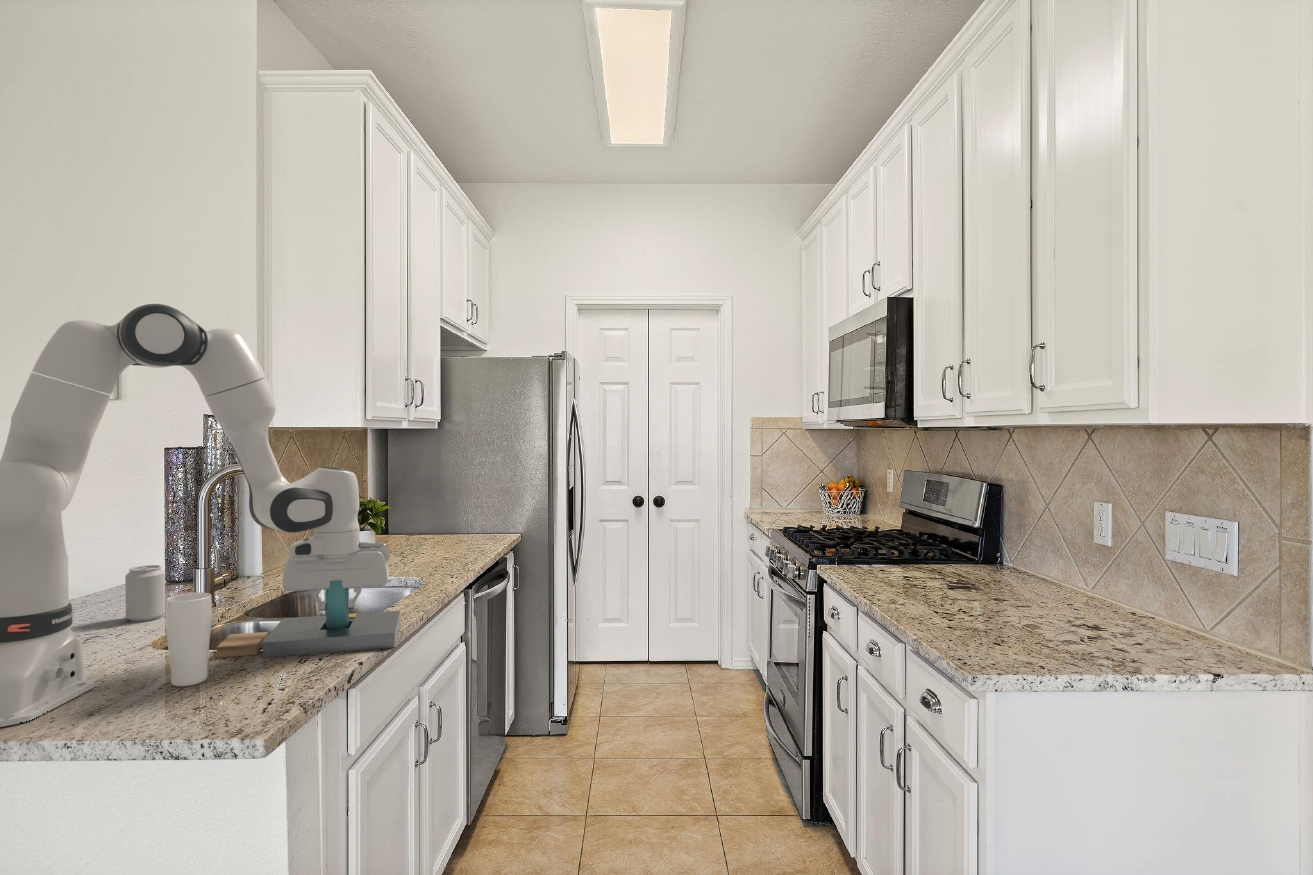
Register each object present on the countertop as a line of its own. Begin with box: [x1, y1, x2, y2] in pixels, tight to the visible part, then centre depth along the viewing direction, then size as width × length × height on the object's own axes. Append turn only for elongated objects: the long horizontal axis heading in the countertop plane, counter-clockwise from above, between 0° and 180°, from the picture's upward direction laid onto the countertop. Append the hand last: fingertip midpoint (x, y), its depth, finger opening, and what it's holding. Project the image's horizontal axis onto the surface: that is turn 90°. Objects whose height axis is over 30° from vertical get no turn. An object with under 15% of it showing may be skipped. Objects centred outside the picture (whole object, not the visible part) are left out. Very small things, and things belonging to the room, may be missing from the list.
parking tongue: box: [216, 631, 269, 659], centre depth 143 cm, size 9×7×2 cm
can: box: [124, 564, 166, 623], centre depth 165 cm, size 8×8×12 cm
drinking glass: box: [164, 592, 213, 688], centre depth 124 cm, size 7×7×15 cm
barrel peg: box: [325, 580, 350, 629], centre depth 149 cm, size 4×4×10 cm
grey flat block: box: [262, 610, 401, 659], centre depth 149 cm, size 18×24×3 cm
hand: (337, 609), depth 149 cm, fingers closed on barrel peg, 4 cm apart
